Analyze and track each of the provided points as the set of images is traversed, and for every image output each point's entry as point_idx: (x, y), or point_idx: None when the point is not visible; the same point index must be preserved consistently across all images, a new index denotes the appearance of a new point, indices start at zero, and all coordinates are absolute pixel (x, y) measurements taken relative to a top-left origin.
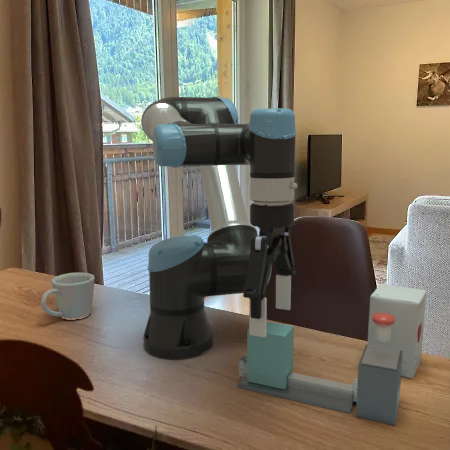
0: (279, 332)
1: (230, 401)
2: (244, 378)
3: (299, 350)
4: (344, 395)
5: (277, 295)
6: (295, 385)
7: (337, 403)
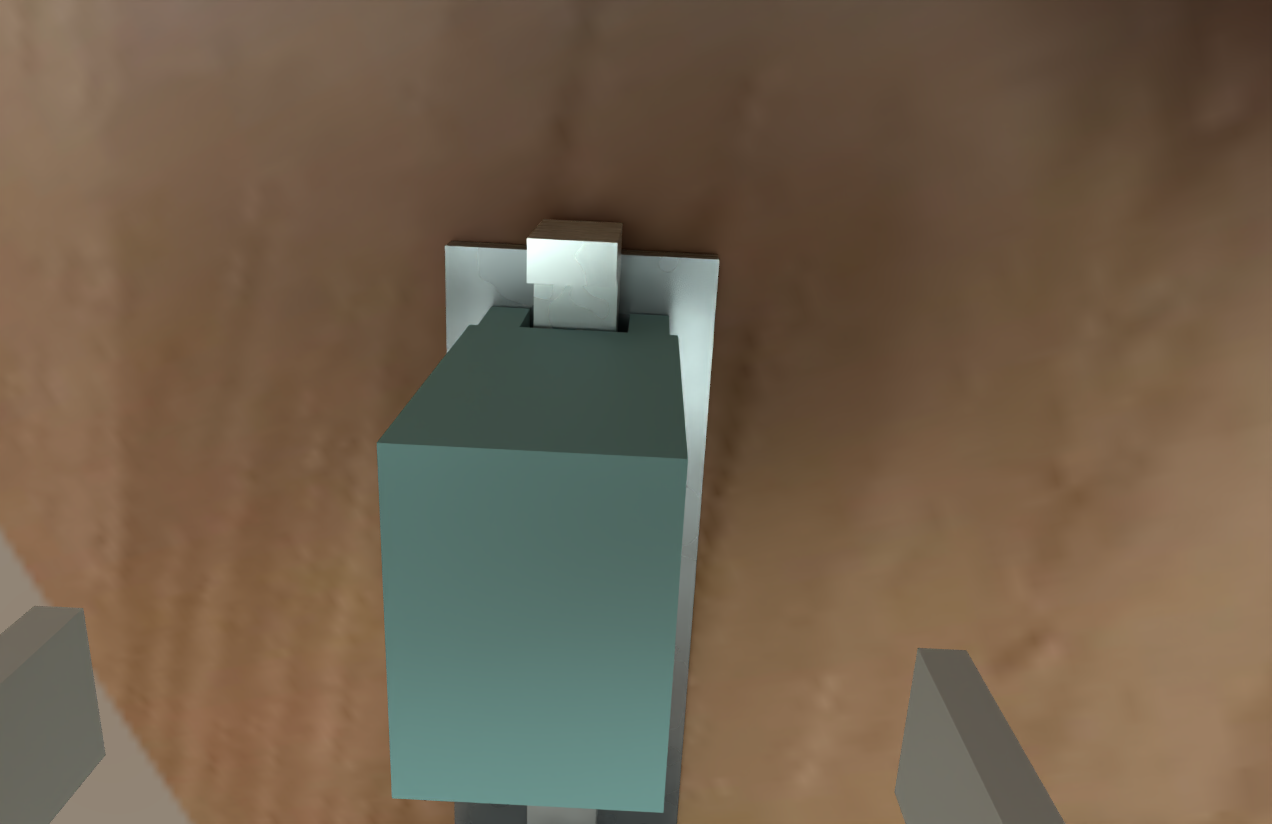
0: (459, 735)
1: (278, 255)
2: (526, 269)
3: (1125, 492)
4: None
5: (969, 778)
6: None
7: (477, 812)
